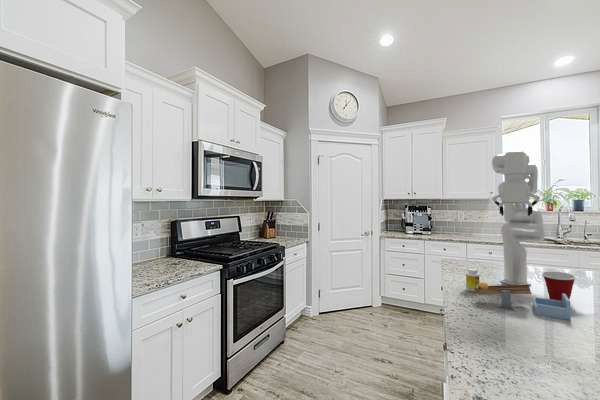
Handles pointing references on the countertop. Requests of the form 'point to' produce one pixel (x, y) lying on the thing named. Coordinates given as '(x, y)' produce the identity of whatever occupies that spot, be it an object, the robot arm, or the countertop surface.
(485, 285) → the ball
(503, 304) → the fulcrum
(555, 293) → the plastic cup
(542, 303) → the blue tray
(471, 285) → the supplement bottle
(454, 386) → the countertop surface
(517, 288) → the lever
